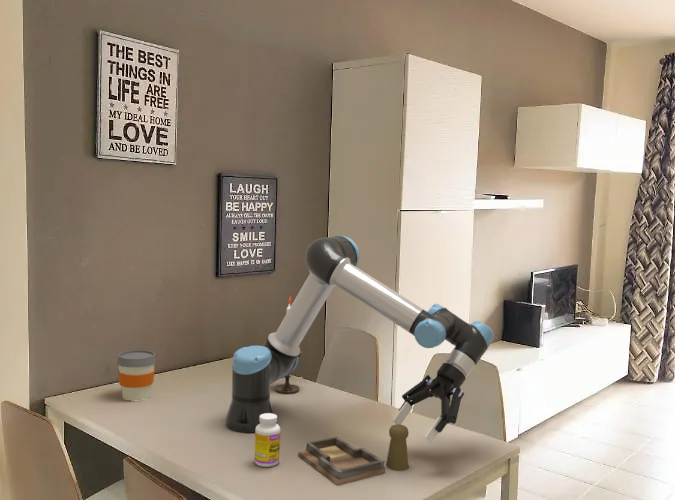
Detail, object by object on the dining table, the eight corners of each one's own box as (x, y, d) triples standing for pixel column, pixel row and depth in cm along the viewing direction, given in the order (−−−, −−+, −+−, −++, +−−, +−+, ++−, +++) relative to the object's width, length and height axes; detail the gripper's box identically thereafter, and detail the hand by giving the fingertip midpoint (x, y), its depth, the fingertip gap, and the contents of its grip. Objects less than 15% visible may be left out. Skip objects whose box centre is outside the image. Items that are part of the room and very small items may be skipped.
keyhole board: (298, 455, 178) (298, 444, 178) (343, 445, 186) (344, 435, 186) (336, 484, 161) (337, 472, 161) (385, 472, 169) (385, 460, 169)
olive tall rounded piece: (407, 471, 170) (409, 431, 169) (384, 468, 171) (386, 428, 170) (409, 462, 176) (411, 423, 175) (387, 459, 177) (389, 420, 176)
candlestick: (285, 383, 243) (287, 291, 240) (307, 389, 237) (310, 295, 234) (265, 390, 234) (268, 295, 231) (288, 396, 228) (291, 299, 225)
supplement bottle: (269, 470, 168) (270, 422, 167) (249, 463, 172) (250, 416, 171) (284, 461, 174) (285, 415, 173) (265, 455, 177) (266, 410, 176)
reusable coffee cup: (163, 396, 224) (163, 353, 223) (134, 405, 214) (134, 361, 212) (138, 389, 231) (138, 348, 230) (109, 398, 220) (109, 355, 219)
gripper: (494, 390, 172) (449, 455, 165) (432, 367, 193) (390, 424, 186) (481, 373, 169) (434, 439, 162) (419, 351, 189) (376, 409, 183)
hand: (411, 431), depth 174 cm, fingers open, 13 cm apart
